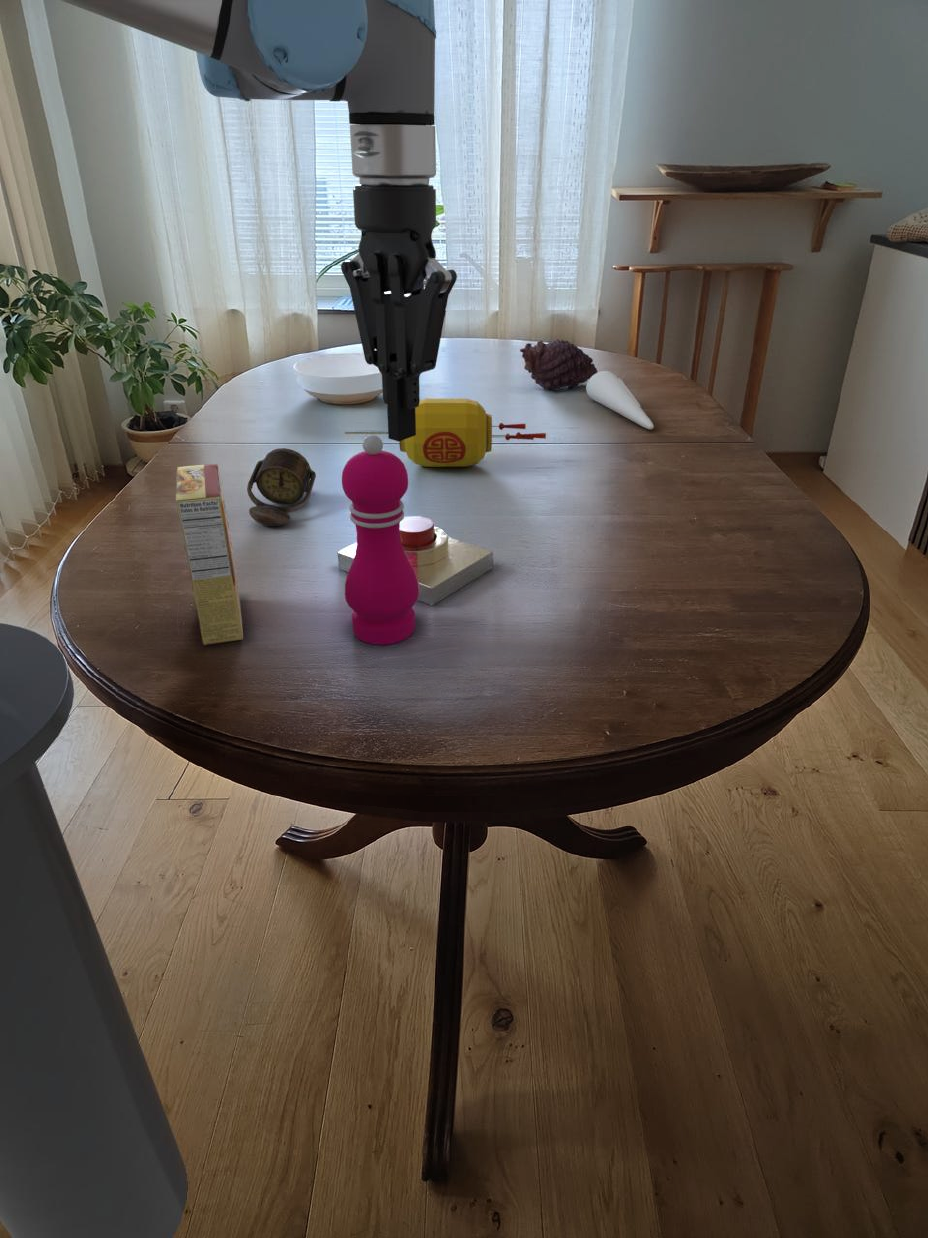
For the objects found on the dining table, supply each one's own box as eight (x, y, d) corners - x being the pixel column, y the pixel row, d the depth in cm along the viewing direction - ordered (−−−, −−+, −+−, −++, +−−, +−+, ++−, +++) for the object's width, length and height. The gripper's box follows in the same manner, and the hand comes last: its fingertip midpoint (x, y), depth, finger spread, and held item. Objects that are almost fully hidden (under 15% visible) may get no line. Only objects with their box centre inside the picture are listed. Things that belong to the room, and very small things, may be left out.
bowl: (371, 378, 164) (369, 348, 161) (415, 401, 150) (414, 368, 147) (282, 391, 156) (278, 360, 153) (319, 416, 141) (316, 382, 138)
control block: (338, 569, 91) (335, 537, 89) (402, 536, 98) (400, 506, 96) (432, 606, 83) (431, 572, 81) (492, 568, 91) (493, 536, 89)
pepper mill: (336, 642, 77) (317, 444, 67) (363, 606, 83) (349, 420, 73) (406, 653, 76) (397, 452, 65) (429, 616, 82) (424, 426, 71)
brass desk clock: (339, 460, 106) (278, 434, 109) (284, 483, 96) (217, 454, 98) (331, 508, 110) (272, 482, 112) (277, 535, 99) (212, 507, 102)
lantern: (545, 386, 118) (344, 386, 118) (550, 420, 111) (337, 420, 111) (540, 444, 125) (351, 444, 125) (545, 479, 118) (344, 479, 118)
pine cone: (579, 375, 167) (604, 338, 159) (590, 409, 162) (616, 373, 154) (505, 358, 159) (527, 319, 151) (515, 394, 154) (538, 355, 147)
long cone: (617, 442, 134) (583, 399, 149) (651, 443, 136) (614, 401, 151) (625, 410, 131) (589, 370, 146) (660, 412, 132) (621, 371, 147)
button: (387, 541, 89) (386, 525, 87) (412, 529, 91) (412, 512, 90) (416, 552, 86) (416, 535, 85) (442, 538, 89) (441, 522, 88)
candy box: (200, 603, 84) (173, 466, 76) (241, 598, 85) (218, 461, 77) (202, 647, 77) (172, 500, 69) (247, 640, 78) (222, 494, 70)
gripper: (313, 180, 72) (333, 433, 84) (422, 184, 65) (426, 459, 77) (370, 178, 77) (381, 417, 89) (476, 182, 70) (472, 440, 82)
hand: (402, 436), depth 83 cm, fingers closed
